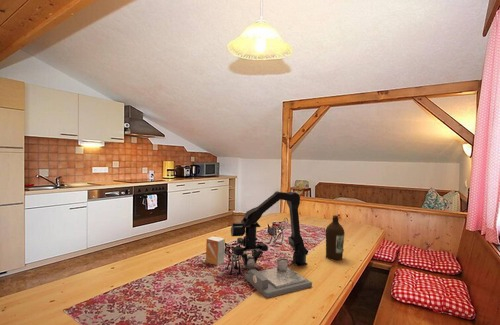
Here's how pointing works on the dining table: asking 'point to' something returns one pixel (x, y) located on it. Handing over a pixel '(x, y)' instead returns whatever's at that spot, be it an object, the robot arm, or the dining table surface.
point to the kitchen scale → (276, 281)
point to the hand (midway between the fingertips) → (249, 265)
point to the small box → (215, 250)
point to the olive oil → (334, 240)
